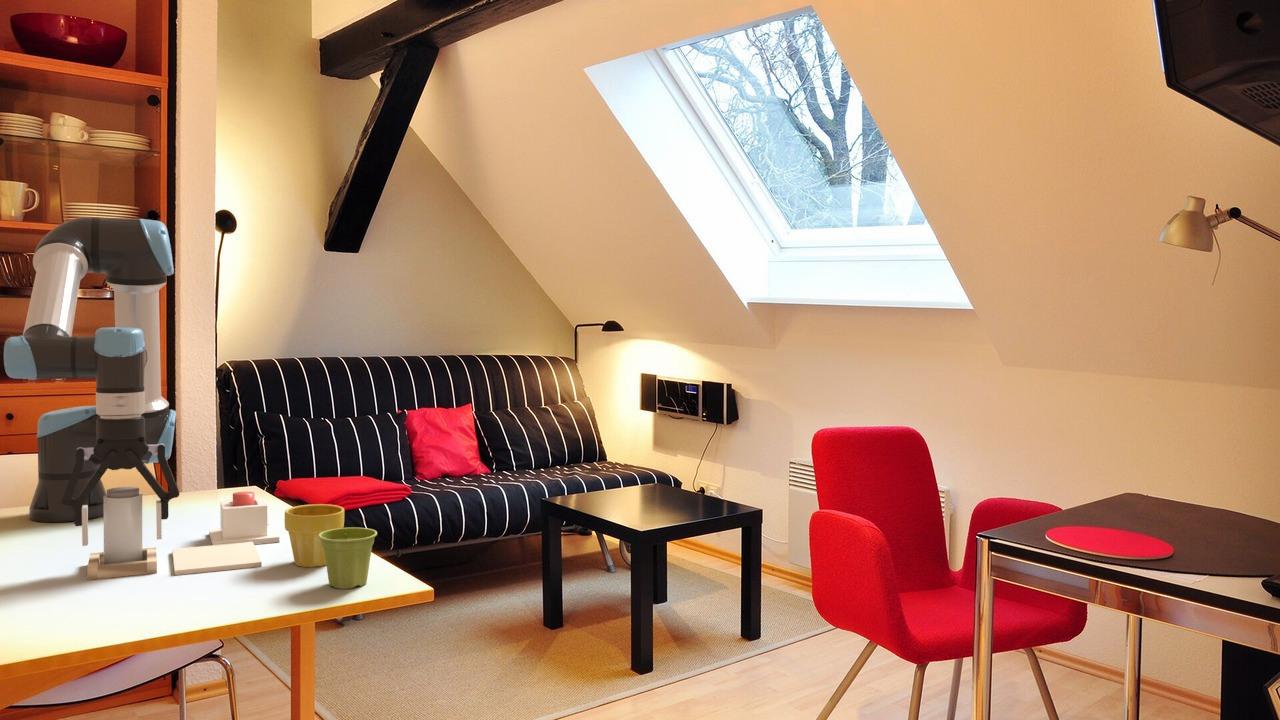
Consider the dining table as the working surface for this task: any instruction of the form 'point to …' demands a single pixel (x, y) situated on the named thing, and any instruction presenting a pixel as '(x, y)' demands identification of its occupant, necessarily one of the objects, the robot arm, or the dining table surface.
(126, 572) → the socket
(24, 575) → the dining table surface
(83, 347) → the robot arm
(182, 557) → the sand mat
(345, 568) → the plant pot
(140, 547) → the filter cartridge
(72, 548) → the dining table surface
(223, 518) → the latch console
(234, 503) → the latch button
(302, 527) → the plant pot
